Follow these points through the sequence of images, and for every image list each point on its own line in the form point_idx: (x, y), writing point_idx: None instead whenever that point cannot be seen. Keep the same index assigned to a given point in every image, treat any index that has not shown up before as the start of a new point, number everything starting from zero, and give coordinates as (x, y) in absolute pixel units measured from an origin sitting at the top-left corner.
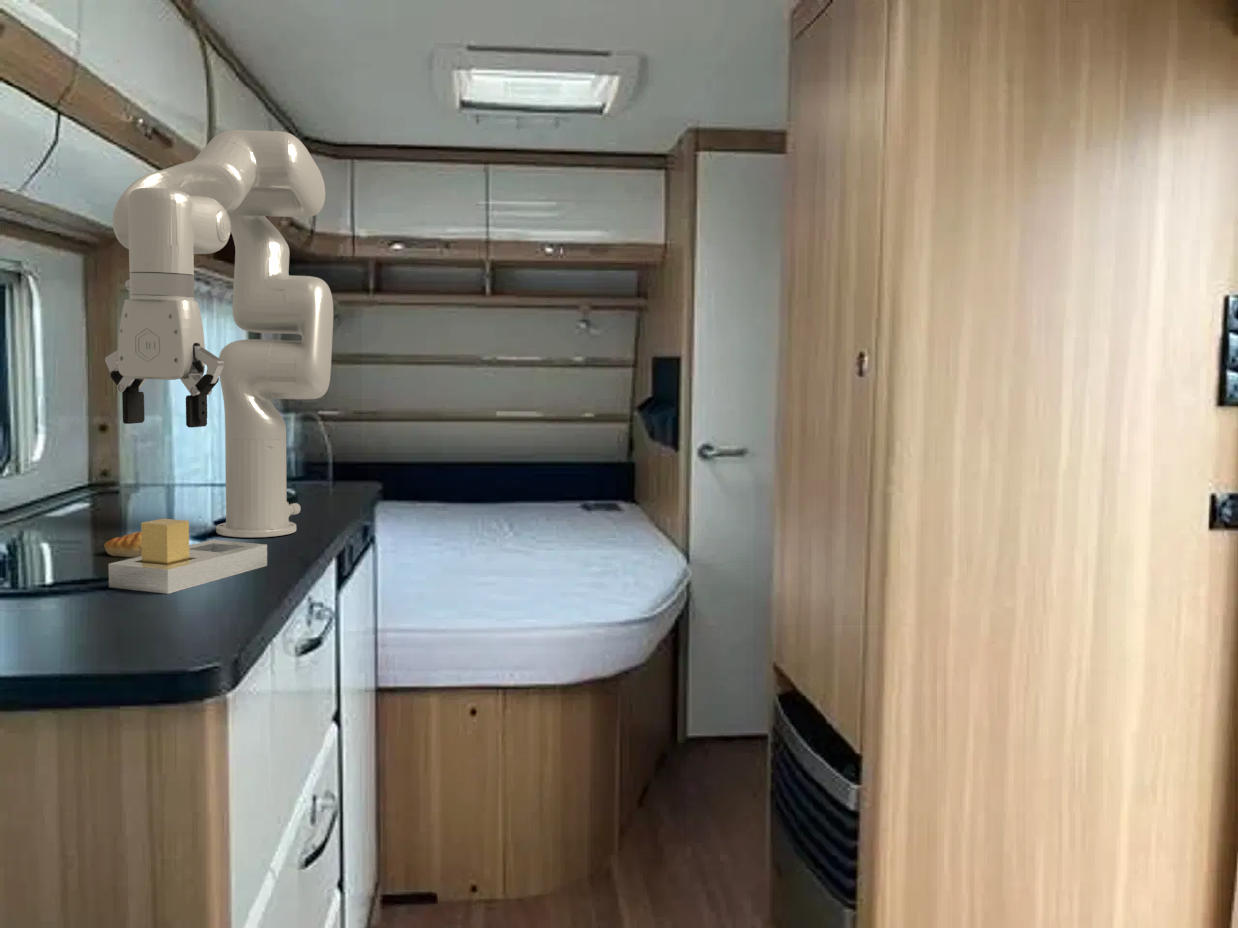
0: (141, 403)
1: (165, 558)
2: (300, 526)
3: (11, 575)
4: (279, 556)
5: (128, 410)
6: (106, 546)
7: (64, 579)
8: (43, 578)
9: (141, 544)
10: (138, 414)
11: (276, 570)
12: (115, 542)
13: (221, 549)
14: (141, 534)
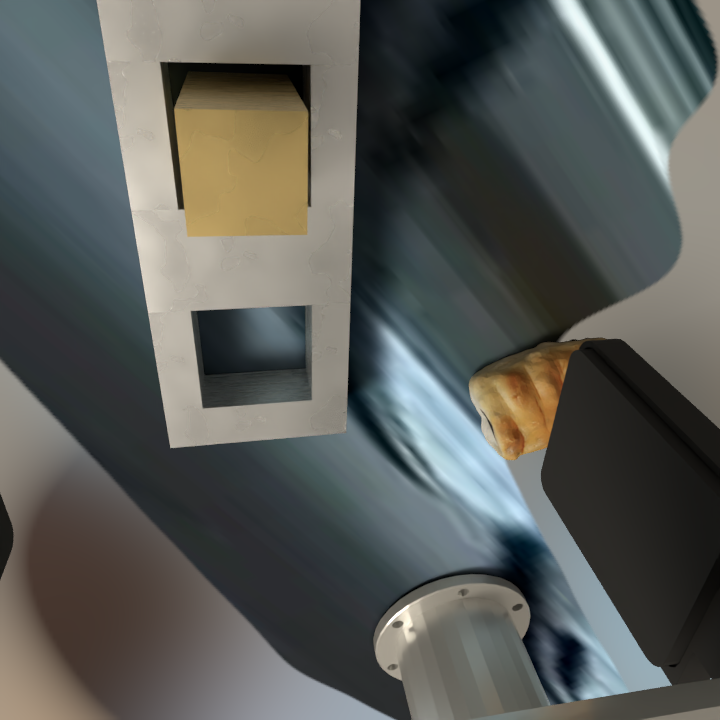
0: (613, 569)
1: (190, 85)
2: None
3: (704, 25)
4: (234, 496)
5: (627, 409)
6: None
7: (538, 41)
8: (601, 27)
9: (529, 371)
10: (577, 474)
11: (109, 383)
12: None
13: (283, 393)
14: (302, 101)
